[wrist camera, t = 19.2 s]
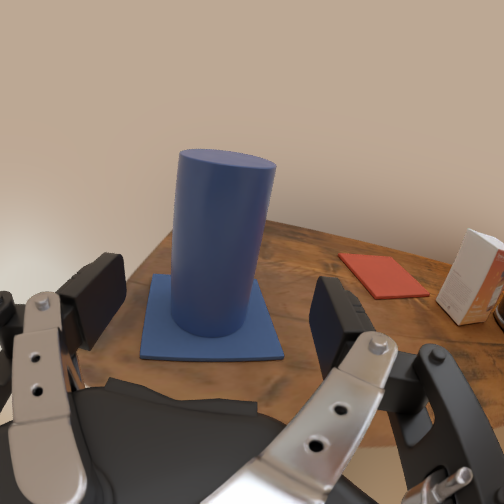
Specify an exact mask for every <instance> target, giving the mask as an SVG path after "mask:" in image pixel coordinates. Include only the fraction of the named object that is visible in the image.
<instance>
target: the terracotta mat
mask: <svg viewBox="0 0 504 504" xmlns="http://www.w3.org/2000/svg"><path fill="white" fill-rule="evenodd" d="M338 256H339V258H340V259H341V260H342V261H343V262H344V263H345V264H346V265H347V267H348V268H349V269H350V270H351V271H352V272H353V273H354V275H355V276H356V277H357V278H358V279H359V280H360V282H361V283H362V284H363V285H364V286H365V288H366V289H367V290H368V291H369V292H370V293H371V295H372V296H373V297H374V298H375V299H392V298H410V297H425V296H429V295H430V293H429V292H428V291H427V290H426V289H425V288H424V287H423V286H421V285H420V284H419V283H418V282H417V281H416V280H415V279H414V278H413V277H412V276H411V275H410V274H409V273H408V272H407V271H406V270H405V269H403V268H402V267H401V266H400V265H399V264H398V263H397V262H396V261H395V260H394V259H393V258H391V257H385V256H371V255H358V254H344V253H338Z"/></svg>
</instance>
